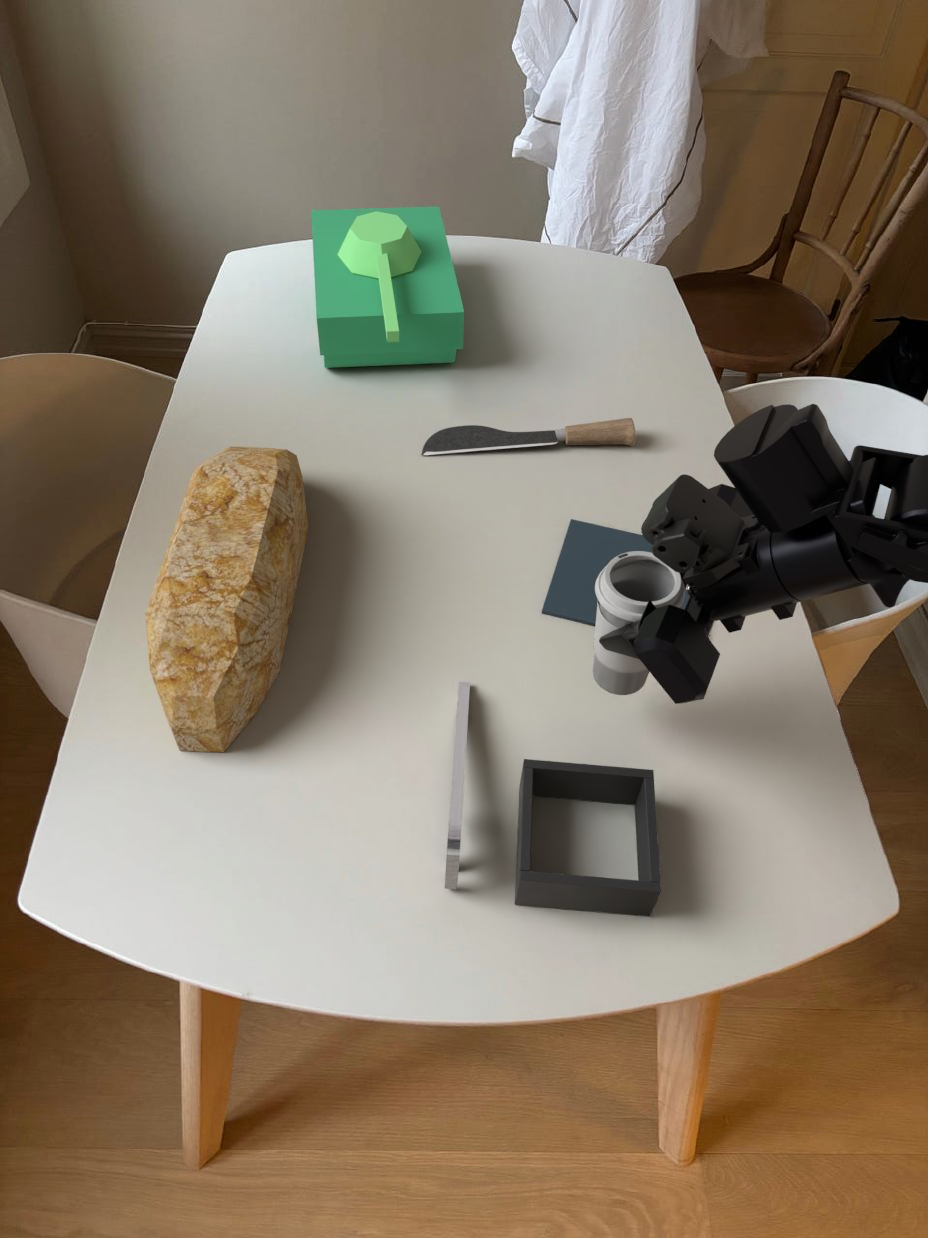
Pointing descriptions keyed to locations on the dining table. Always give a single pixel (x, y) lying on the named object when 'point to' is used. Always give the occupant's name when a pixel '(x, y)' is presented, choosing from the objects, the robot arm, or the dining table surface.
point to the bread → (227, 593)
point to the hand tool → (528, 437)
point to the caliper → (457, 789)
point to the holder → (593, 787)
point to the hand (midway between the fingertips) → (616, 613)
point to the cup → (629, 613)
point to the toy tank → (385, 287)
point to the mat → (587, 569)
